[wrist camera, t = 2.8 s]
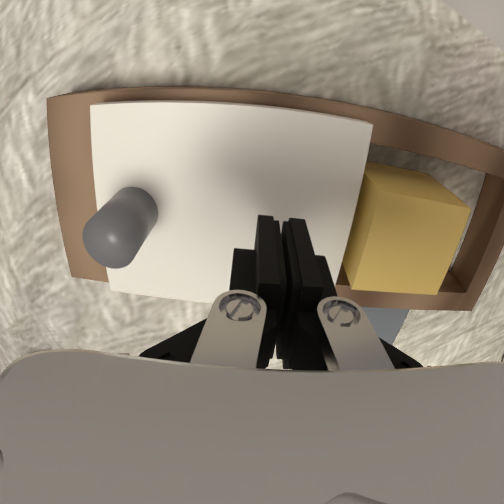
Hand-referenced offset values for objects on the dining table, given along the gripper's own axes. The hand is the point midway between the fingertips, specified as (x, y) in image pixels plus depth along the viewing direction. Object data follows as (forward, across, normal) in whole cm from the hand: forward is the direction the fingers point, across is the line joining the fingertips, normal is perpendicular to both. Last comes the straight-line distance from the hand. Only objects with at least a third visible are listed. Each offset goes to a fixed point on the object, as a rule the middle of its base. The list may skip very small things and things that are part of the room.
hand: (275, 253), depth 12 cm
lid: (+4, +2, 0) cm, 5 cm away
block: (+7, -7, 0) cm, 9 cm away
